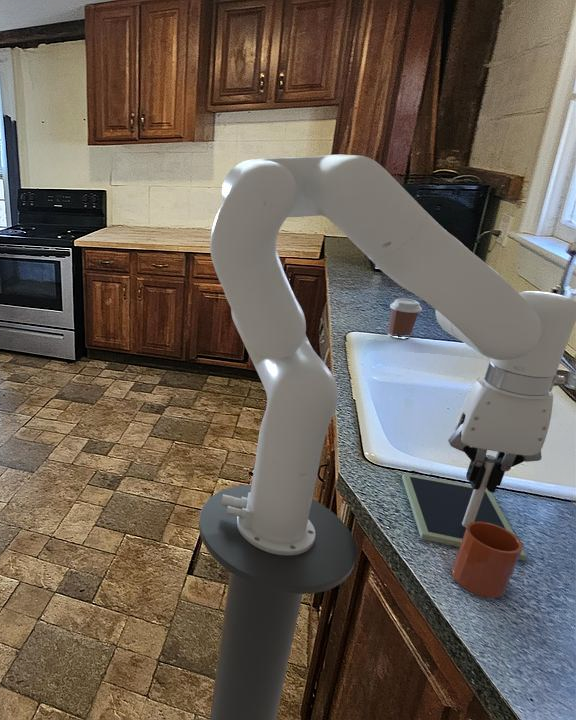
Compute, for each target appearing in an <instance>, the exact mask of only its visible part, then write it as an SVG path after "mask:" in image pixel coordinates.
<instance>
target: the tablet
mask: <svg viewBox="0 0 576 720" xmlns="http://www.w3.org/2000/svg"><path fill="white" fill-rule="evenodd" d="M401 480H402V483H403V486H404V489H405V492H406V495H407V497H408V502H409V505H410V508H411V511H412V514H413V517H414V521H415V523H416V527H417V530H418V534H419V537H420V539H421V540H424V541H429V542H433V543H439V544H443V545H447V546H452V547H457V548H459V547H460V544H461V541H462V539H463V536H464V533H465V530H466V527H464V526H463V525H462V522H463V519H464V516H465V513H466V510H467V507H468V505H469V502H470V499H471V496H472V493H473V490H474V489H473V488H472V486H471V484H466V483H461V482H454V481H450V480H449V481H448V480H443V479H437V478H432V477H426V476H423V475H422V476H421V475H416V474H410V473H405V472H403V473H402V474H401ZM477 521H480V522H488V523H491V524H495V525H497V526H500V527H502V528H504V529H506V530H508V531H509V532H511V533H513V534H514V535H515V536H516V534H515V533H514V531H513V528H512V526H511V525H510V523H509V521H508V520H507V518H506V517H505V515H504V513H503V511H502V509H501V507H500V505H499V504H498V501H497V500H496V498H495V497H494V495H493V493H492V492H489V491H488V490H487V488H486V490H485V492H484V495H483V498H482V501H481V504H480V507H479V510H478V512H477V515H476V518H475V521H474V522H477ZM527 557H528V556H527V554H526V552H525V550H524V547H522V551H521V554H520V556H519V559H518V561H521V562H525V561H526V559H527Z"/></svg>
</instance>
